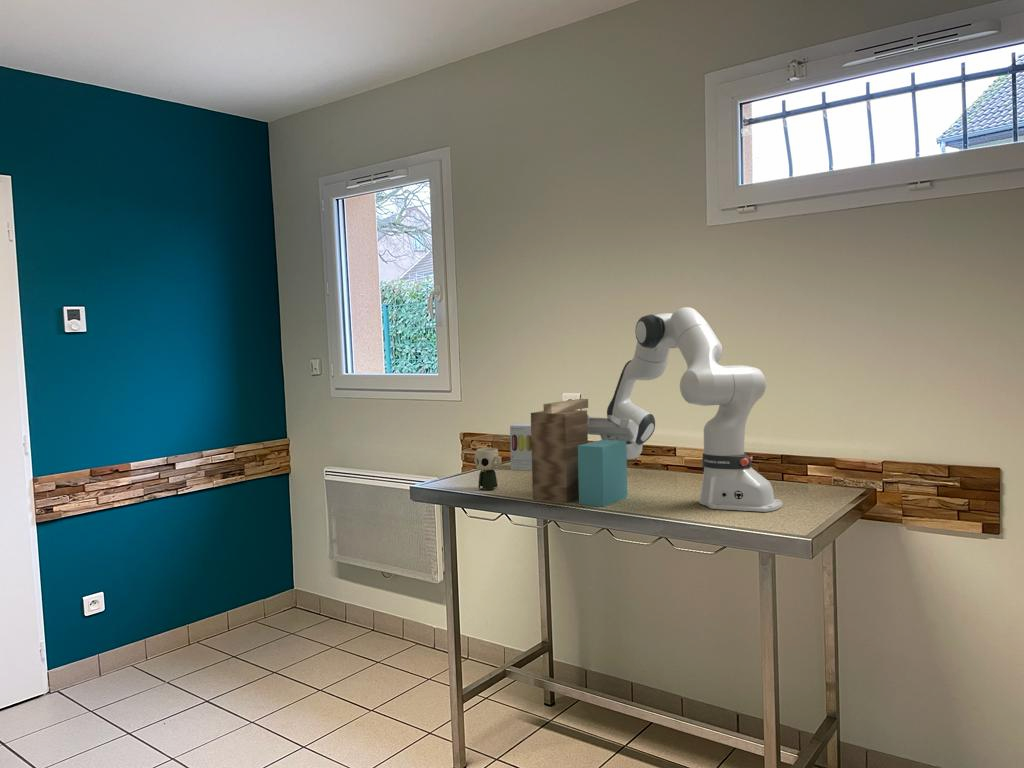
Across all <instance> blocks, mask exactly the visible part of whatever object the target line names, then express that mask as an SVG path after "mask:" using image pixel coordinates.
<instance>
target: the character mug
mask: <svg viewBox="0 0 1024 768" xmlns="http://www.w3.org/2000/svg"><path fill="white" fill-rule="evenodd" d="M474 463H475V466H476V469H477V470H479V476H478V484H477V485H478V489H482V490H491V489H492V490H493V489H495V488H497V487H498V481H497V474H496V471H495V470H497V469H498V468H499V467H500V466H501V456H499V450H498V448H494V447H484V448H482V447H481V448H478V449H476V450H475V454H474ZM481 487H482V488H481Z"/></svg>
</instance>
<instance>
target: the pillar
mask: <svg viewBox="0 0 1024 768" xmlns="http://www.w3.org/2000/svg"><path fill="white" fill-rule="evenodd" d="M587 415H588V410H587V409H586V410H585V409H578V410H571V411H565V412H559V413H553V414H547V413H544V410H542V411H540V410H539V411H536V412H535V411H534V412H530V423H531V446H532V470H531V472H532V473H531V475H532V476H531V478H532V479H531V480H532V481H531V482H532V499H533V498H534V499H533V500H537V499H540V500H539V501H546V500H548V501H547V502H555V501H557V503H568V504H569V503H570V502H573V500H574V501H577V500H579V499H578V498H579V478H578V445H582V444H587V443H589V442H588V441H589V440H588V439H589V438H588V437H589V436H588V435H589V434H588V428H587ZM576 499H577V500H576Z"/></svg>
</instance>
